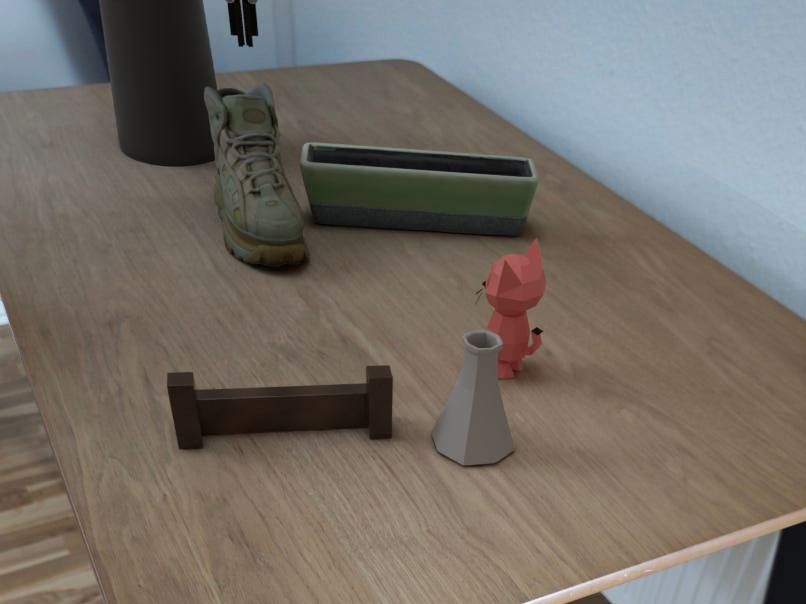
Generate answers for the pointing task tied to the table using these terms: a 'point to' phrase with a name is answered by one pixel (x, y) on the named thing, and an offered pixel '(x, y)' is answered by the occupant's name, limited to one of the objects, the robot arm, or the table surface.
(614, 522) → the table surface
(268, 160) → the sneaker
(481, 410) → the flask
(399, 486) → the table surface
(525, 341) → the cat figurine
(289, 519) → the table surface
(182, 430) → the wooden hurdle
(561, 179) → the table surface
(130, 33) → the vase
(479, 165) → the planter
